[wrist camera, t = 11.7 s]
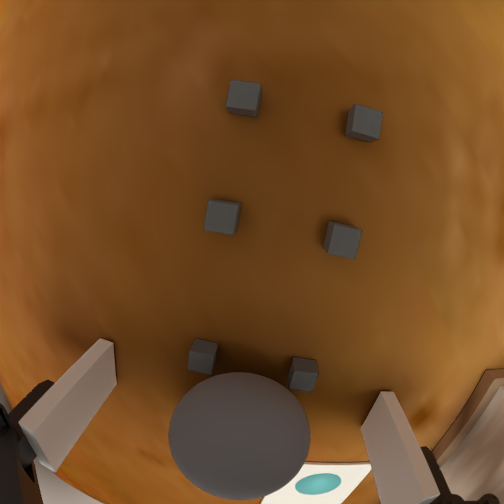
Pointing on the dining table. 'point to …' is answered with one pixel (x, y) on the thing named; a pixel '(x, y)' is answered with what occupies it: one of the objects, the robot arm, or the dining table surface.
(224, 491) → the ball charcoal
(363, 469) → the dot card
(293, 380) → the small grey cubes
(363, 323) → the dining table surface
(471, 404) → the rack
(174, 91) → the dining table surface
